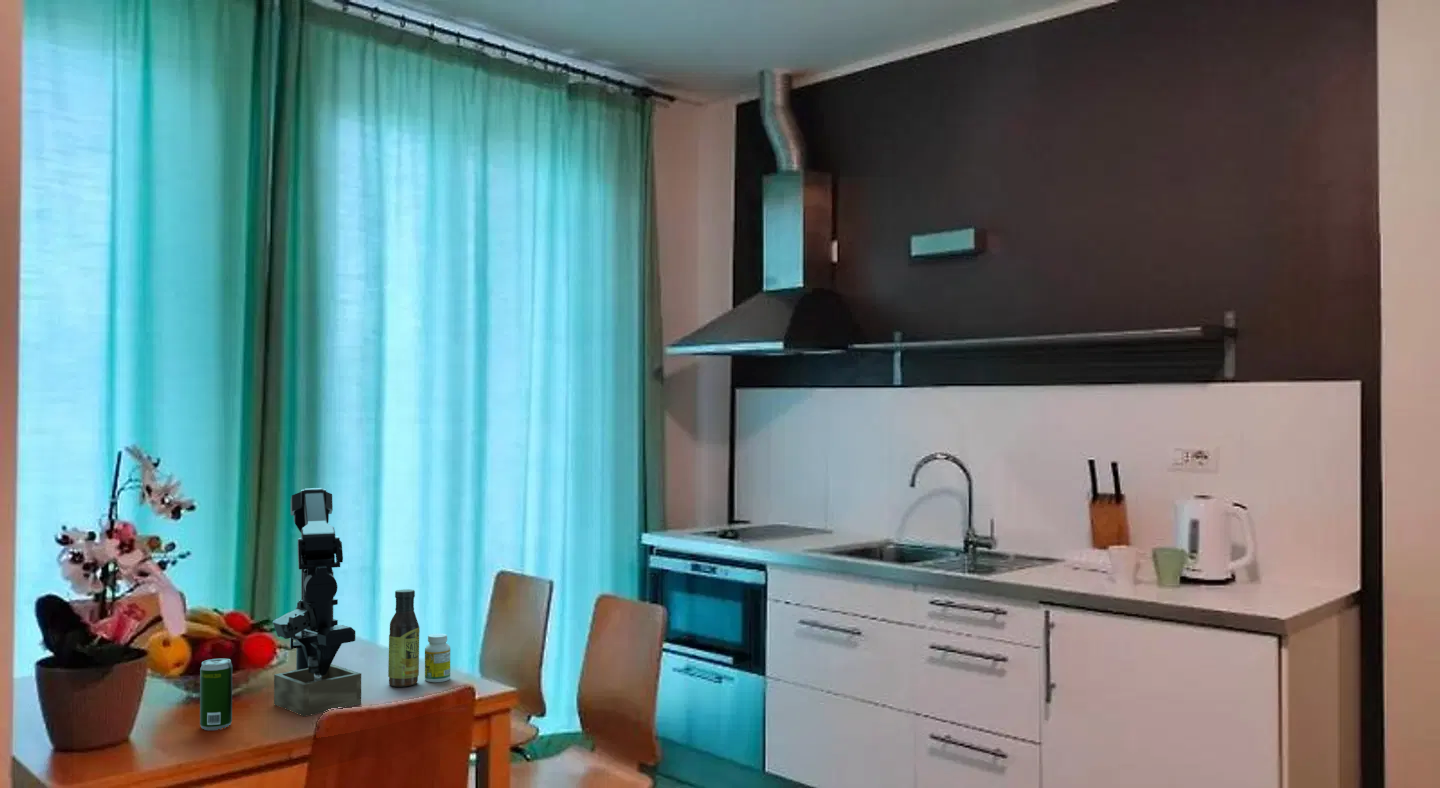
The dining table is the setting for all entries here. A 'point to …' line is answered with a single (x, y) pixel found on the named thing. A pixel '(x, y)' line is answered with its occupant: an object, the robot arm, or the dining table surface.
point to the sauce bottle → (404, 641)
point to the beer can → (215, 694)
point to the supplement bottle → (437, 658)
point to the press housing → (317, 690)
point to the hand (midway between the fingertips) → (317, 673)
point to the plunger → (314, 668)
